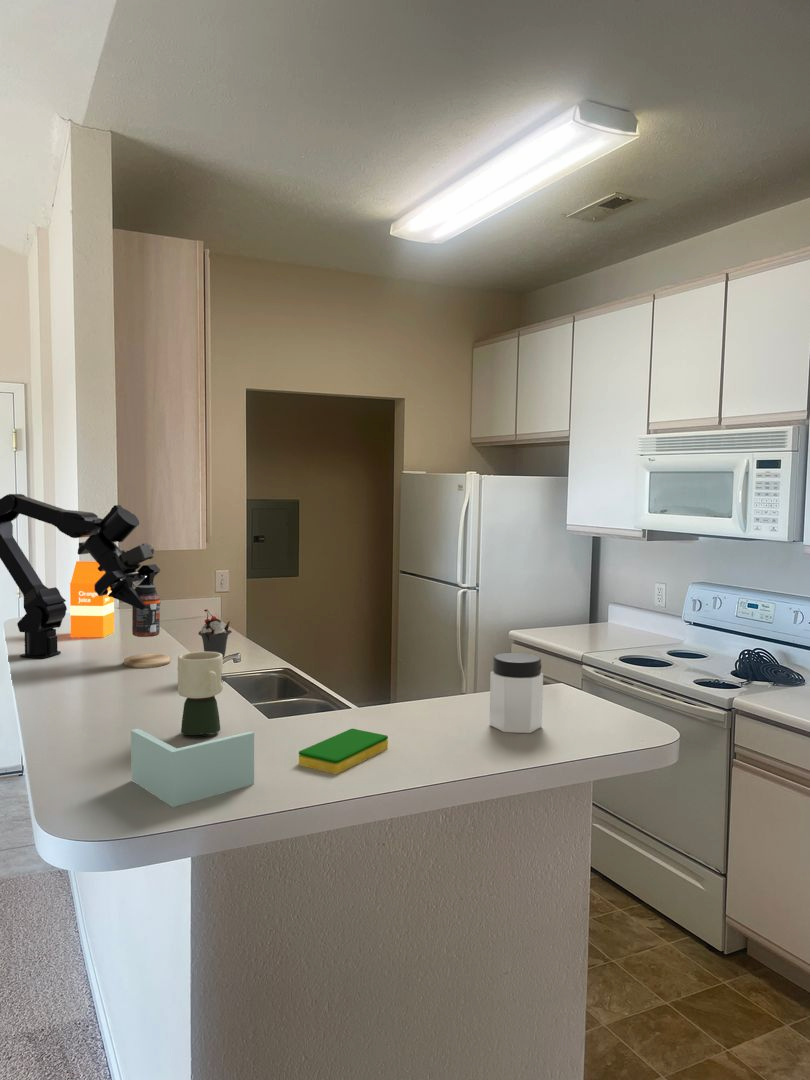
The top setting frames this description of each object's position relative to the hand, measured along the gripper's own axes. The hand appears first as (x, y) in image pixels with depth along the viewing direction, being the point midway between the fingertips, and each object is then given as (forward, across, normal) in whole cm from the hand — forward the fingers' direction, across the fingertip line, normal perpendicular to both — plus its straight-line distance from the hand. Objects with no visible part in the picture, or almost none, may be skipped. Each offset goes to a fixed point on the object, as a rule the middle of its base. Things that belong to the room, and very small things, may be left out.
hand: (151, 606), depth 180 cm
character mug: (+34, -44, -16) cm, 58 cm away
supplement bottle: (+4, 0, +6) cm, 7 cm away
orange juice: (-14, +26, +33) cm, 45 cm away
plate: (+8, 0, +10) cm, 13 cm away
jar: (+69, -26, -52) cm, 90 cm away
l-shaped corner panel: (+41, -64, -22) cm, 79 cm away
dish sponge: (+53, -48, -34) cm, 79 cm away
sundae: (+24, -10, -5) cm, 26 cm away
